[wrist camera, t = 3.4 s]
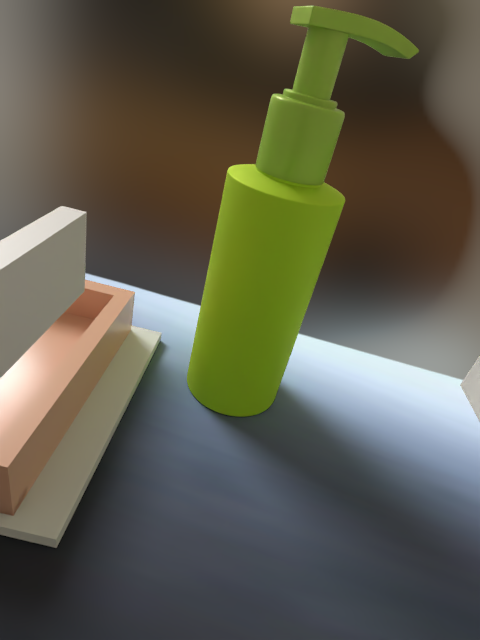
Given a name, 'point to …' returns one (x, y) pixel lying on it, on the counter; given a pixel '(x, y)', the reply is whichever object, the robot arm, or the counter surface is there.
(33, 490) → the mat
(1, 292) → the robot arm
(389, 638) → the counter surface
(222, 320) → the soap dispenser
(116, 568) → the counter surface
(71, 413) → the dish
